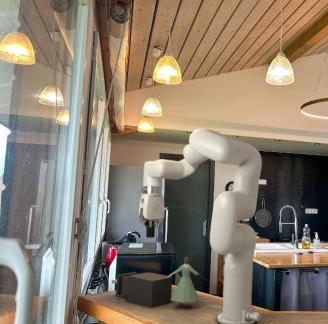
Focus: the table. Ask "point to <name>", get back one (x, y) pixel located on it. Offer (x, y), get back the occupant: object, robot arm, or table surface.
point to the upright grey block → (149, 289)
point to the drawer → (122, 284)
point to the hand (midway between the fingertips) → (150, 237)
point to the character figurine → (185, 285)
